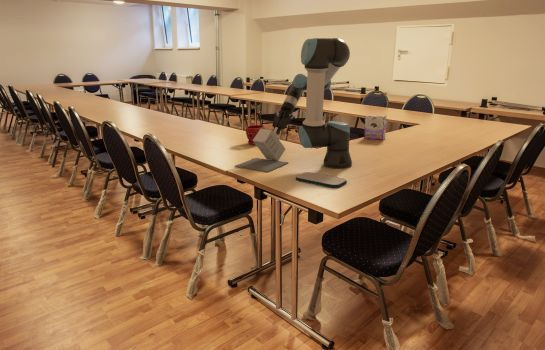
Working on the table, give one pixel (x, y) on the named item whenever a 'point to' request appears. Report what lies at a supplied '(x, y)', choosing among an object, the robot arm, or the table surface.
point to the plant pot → (253, 132)
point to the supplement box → (269, 144)
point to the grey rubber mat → (261, 164)
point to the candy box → (375, 127)
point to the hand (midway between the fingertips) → (273, 137)
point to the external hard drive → (321, 180)
